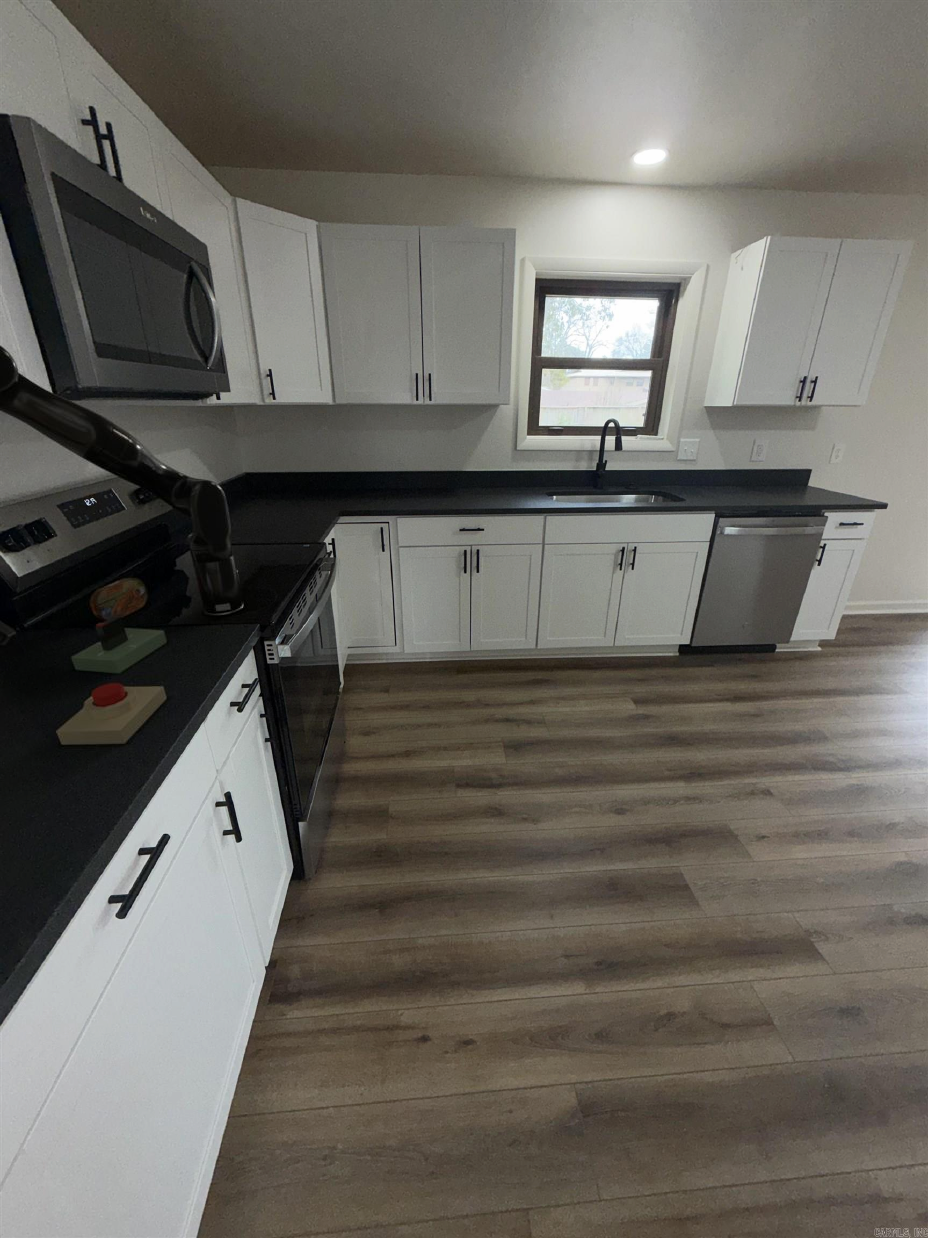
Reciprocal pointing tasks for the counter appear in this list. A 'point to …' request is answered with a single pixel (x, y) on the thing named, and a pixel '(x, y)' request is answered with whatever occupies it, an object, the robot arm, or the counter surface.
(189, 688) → the counter surface
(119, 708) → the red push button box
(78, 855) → the counter surface
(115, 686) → the power button
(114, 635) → the black upright block
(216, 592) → the robot arm
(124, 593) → the tin
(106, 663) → the panel
